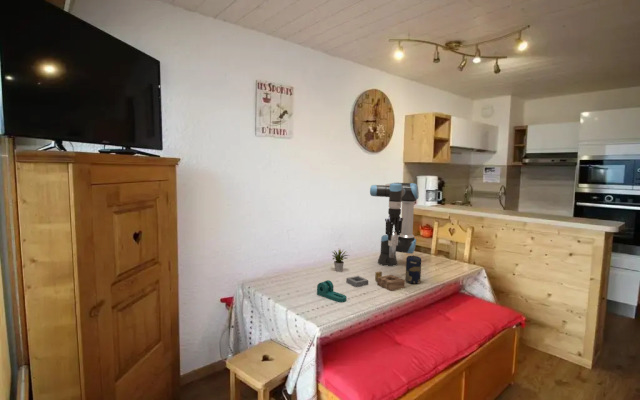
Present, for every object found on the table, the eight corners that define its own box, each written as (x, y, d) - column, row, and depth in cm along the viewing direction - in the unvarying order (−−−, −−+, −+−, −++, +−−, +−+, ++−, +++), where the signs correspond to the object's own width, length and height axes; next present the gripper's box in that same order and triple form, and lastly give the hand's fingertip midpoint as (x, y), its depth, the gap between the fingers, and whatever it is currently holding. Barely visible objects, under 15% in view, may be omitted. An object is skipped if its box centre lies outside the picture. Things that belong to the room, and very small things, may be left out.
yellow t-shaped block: (374, 280, 217) (375, 272, 217) (379, 279, 220) (380, 271, 219) (385, 284, 209) (385, 276, 209) (390, 283, 212) (390, 275, 211)
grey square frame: (346, 282, 213) (346, 278, 213) (358, 280, 218) (358, 275, 218) (355, 287, 204) (356, 282, 204) (368, 284, 210) (368, 280, 210)
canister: (420, 281, 221) (421, 254, 219) (419, 285, 212) (421, 258, 210) (405, 279, 224) (407, 253, 222) (404, 283, 215) (406, 256, 213)
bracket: (316, 294, 190) (317, 281, 190) (324, 291, 196) (324, 279, 195) (341, 303, 179) (341, 289, 178) (348, 300, 184) (349, 286, 183)
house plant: (337, 275, 228) (338, 251, 226) (324, 270, 238) (325, 248, 237) (351, 271, 237) (352, 249, 236) (338, 266, 247) (339, 245, 246)
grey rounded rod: (387, 256, 207) (388, 231, 206) (392, 256, 210) (393, 231, 208) (392, 258, 204) (393, 232, 203) (396, 257, 206) (398, 232, 205)
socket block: (377, 284, 210) (377, 277, 210) (390, 282, 217) (391, 274, 216) (390, 291, 200) (391, 283, 200) (404, 287, 206) (405, 280, 206)
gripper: (389, 209, 196) (387, 247, 198) (408, 208, 206) (406, 245, 208) (380, 207, 203) (378, 245, 205) (400, 207, 212) (398, 242, 214)
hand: (392, 245), depth 206 cm, fingers closed on grey rounded rod, 4 cm apart
